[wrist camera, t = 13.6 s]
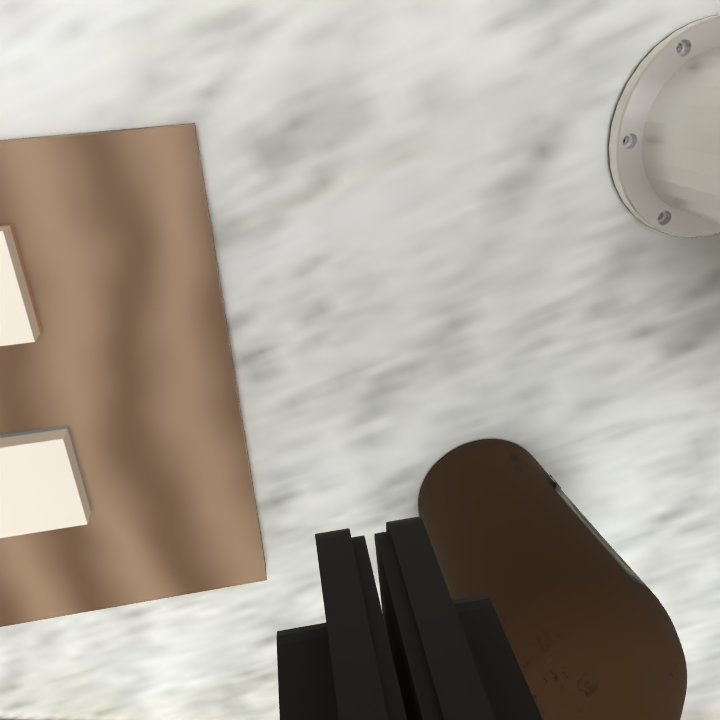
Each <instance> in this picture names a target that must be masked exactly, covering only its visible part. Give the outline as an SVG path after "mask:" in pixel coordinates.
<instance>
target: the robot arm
mask: <svg viewBox="0 0 720 720" xmlns="http://www.w3.org/2000/svg"><path fill="white" fill-rule="evenodd" d="M677 45H678V49H677V50H676V48H677ZM624 138H625V142H624V143H623V140H624ZM609 154H610V168H611V172H612V176H613V180H614V184H615V187H616V189H617V191H618V193H619V195H620V197H621V199H622V201H623V202H624V204H625V205H626V206H627V208H628V209H629V210H630V211H631V213H632V214H633V215H634V216H636V217H637V218H638V219H639V220H641V221H642V222H643V223H645V224H646V225H648V226H650V227H652V228H654V229H657V230H659V231H661V232H664V233H667V234H670V235H674V236H679V237H690V238H694V237H702V236H710V235H713V234H717V233H720V15H718V16H711V17H708V18H705V19H701V20H698V21H695V22H692V23H690V24H688V25H686V26H685V27H683V28H681V29H679V30H677V31H675V32H673V33H672V34H671V35H670V36H668V37H667V38H666V39H665V40H663V41H662V42H661V43H659V44H658V45H657V46H656V47H655V48H654V49H653V50H652V51H651V52H650V53H649V54H648V55H647V57H646V58H645V59H644V60H643V61H642V62H641V63H640V65H639V66H638V68H637V69H636V71H635V72H634V74H633V75H632V77H631V78H630V80H629V81H628V83H627V85H626V87H625V89H624V91H623V93H622V96H621V98H620V100H619V102H618V105H617V108H616V111H615V115H614V118H613V122H612V126H611V134H610V143H609ZM386 531H387V532H382V533H376V534H375V546H376V555H377V565H378V574H379V584H380V593H381V603H382V609H381V605H380V601H379V597H378V592H377V588H376V584H375V579H374V575H373V571H372V566H371V562H370V558H369V554H368V549H367V545H366V541H365V537H364V536H358V537H352V538H351V534H350V530H349V528H348V529H342V530H336V531H330V532H325V533H319V534H315V538H316V546H317V554H318V561H319V569H320V577H321V584H322V592H323V600H324V608H325V615H326V623H321V624H316V625H310V626H305V627H299V628H293V629H288V630H282V631H277V660H278V684H279V709H280V720H543V719H542V717H541V714H540V712H539V710H538V707H537V705H536V703H535V701H534V698H533V696H532V694H531V691H530V689H529V687H528V685H527V682H526V680H525V678H524V675H523V673H522V671H521V668H520V666H519V664H518V662H517V659H516V657H515V655H514V652H513V650H512V648H511V646H510V643H509V641H508V639H507V636H506V634H505V632H504V630H503V627H502V625H501V623H500V620H499V618H498V616H497V613H496V611H495V609H494V607H493V605H492V603H491V601H490V599H489V597H488V596H487V595H486V594H483V595H478V596H472V597H466V598H461V599H455V600H452V599H451V596H450V593H449V591H448V588H447V585H446V582H445V580H444V577H443V574H442V571H441V569H440V566H439V563H438V560H437V558H436V555H435V552H434V550H433V547H432V544H431V541H430V539H429V536H428V533H427V530H426V528H425V525H424V522H423V520H422V518H421V517H414V518H408V519H402V520H396V521H390V522H387V523H386ZM382 612H383V614H382Z"/></svg>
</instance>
